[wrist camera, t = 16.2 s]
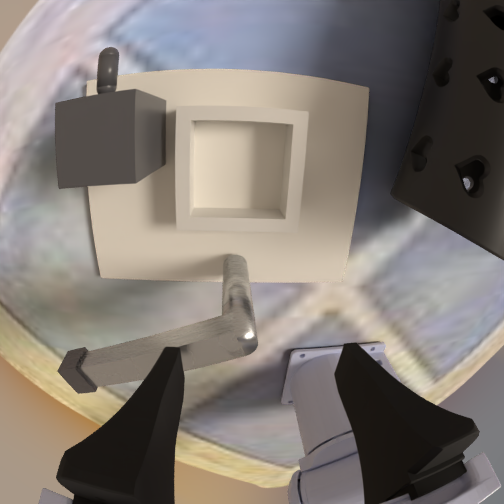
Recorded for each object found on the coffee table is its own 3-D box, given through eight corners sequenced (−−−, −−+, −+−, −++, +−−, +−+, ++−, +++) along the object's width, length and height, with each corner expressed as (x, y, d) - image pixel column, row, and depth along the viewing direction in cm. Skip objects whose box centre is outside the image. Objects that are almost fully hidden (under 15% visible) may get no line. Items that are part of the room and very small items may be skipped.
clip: (98, 298, 20) (57, 371, 13) (241, 248, 19) (249, 325, 12) (112, 318, 20) (78, 393, 13) (251, 274, 20) (264, 356, 13)
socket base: (365, 88, 16) (383, 84, 13) (339, 278, 21) (351, 296, 19) (91, 82, 14) (72, 77, 12) (103, 274, 20) (91, 292, 18)
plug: (168, 60, 14) (140, 32, 8) (165, 164, 17) (136, 183, 11) (108, 68, 13) (59, 50, 8) (106, 167, 16) (58, 188, 11)
